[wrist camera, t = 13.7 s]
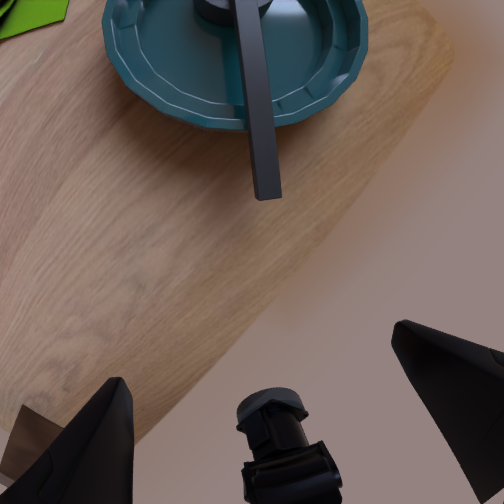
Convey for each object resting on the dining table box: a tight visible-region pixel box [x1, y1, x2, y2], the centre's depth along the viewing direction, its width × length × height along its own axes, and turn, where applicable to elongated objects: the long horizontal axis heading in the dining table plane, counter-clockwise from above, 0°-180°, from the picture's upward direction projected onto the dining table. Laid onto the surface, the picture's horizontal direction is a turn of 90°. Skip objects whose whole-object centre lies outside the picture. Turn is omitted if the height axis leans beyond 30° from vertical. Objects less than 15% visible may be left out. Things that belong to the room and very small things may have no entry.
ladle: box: [194, 0, 282, 201], centre depth 13 cm, size 16×5×4 cm, turn 6°
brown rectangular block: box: [0, 405, 63, 487], centre depth 19 cm, size 6×6×10 cm
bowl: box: [102, 0, 368, 134], centre depth 13 cm, size 15×15×4 cm
